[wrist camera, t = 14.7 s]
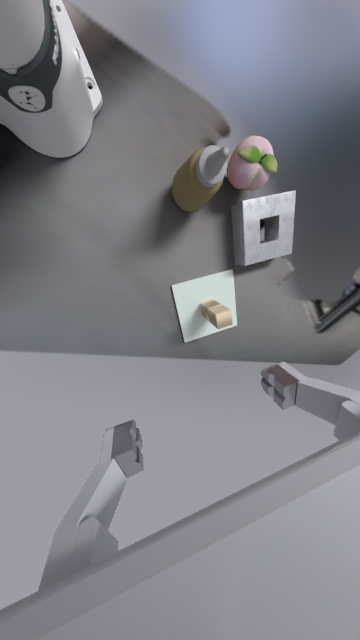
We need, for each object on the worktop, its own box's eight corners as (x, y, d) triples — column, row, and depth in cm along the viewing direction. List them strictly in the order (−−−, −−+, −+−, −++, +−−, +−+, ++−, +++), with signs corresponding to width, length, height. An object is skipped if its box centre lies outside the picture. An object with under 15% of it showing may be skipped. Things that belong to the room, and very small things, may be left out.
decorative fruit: (256, 157, 39) (294, 128, 30) (250, 198, 42) (282, 183, 33) (220, 148, 37) (249, 114, 28) (215, 193, 40) (240, 175, 31)
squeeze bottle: (196, 167, 37) (246, 99, 21) (206, 208, 40) (256, 178, 24) (162, 179, 36) (187, 120, 20) (176, 220, 40) (206, 198, 23)
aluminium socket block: (230, 206, 42) (242, 200, 37) (279, 196, 44) (295, 190, 39) (234, 264, 47) (245, 265, 43) (277, 253, 50) (291, 253, 45)
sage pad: (171, 285, 45) (171, 285, 44) (231, 269, 48) (232, 269, 47) (184, 341, 52) (184, 342, 52) (236, 324, 55) (237, 325, 54)
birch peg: (200, 303, 48) (215, 314, 39) (213, 299, 49) (231, 309, 40) (202, 315, 50) (217, 329, 41) (214, 311, 50) (232, 324, 41)
